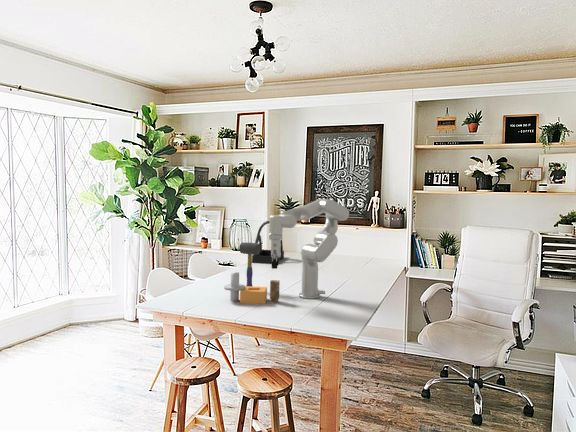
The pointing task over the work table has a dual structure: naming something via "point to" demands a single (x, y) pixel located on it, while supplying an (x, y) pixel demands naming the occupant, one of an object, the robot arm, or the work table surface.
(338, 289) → the work table surface
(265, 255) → the basket
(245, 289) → the orange block with cylinder
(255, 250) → the rubber mallet
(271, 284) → the tan wooden block
